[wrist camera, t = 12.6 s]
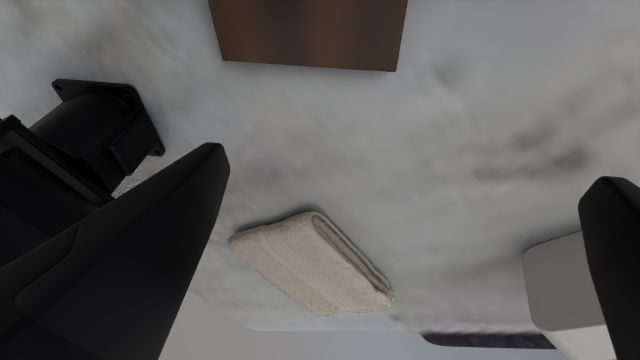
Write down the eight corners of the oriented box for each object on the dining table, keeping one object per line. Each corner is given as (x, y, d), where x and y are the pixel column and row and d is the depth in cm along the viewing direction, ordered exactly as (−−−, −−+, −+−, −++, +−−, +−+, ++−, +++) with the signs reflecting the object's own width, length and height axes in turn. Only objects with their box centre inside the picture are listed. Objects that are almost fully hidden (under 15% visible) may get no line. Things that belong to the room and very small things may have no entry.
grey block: (578, 303, 32) (611, 416, 24) (517, 234, 30) (532, 334, 22) (688, 282, 26) (774, 418, 19) (624, 198, 24) (691, 313, 17)
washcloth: (321, 301, 44) (317, 324, 42) (227, 229, 35) (216, 254, 33) (402, 291, 38) (402, 317, 36) (314, 200, 28) (307, 229, 26)
